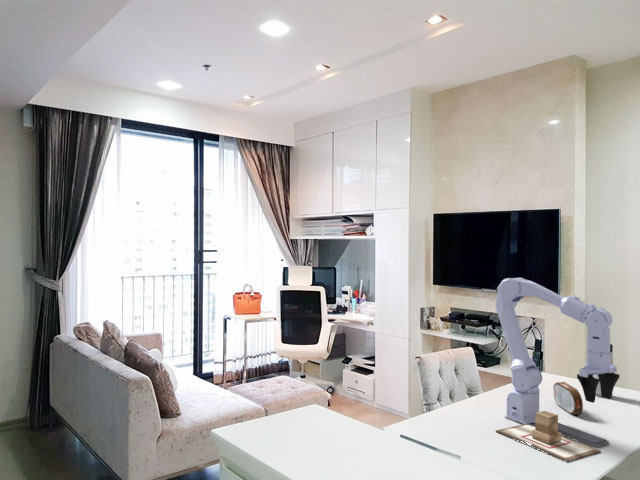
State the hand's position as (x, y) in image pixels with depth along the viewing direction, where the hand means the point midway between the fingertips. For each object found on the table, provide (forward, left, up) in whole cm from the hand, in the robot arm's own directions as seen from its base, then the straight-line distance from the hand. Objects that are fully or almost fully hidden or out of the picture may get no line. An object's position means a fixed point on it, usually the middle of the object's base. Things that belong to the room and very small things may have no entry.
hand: (598, 399), depth 135 cm
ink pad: (-6, +4, -10) cm, 12 cm away
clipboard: (-17, +4, -10) cm, 20 cm away
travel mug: (+42, +24, -11) cm, 50 cm away
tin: (+14, +19, -11) cm, 26 cm away
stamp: (-17, +4, -10) cm, 20 cm away
